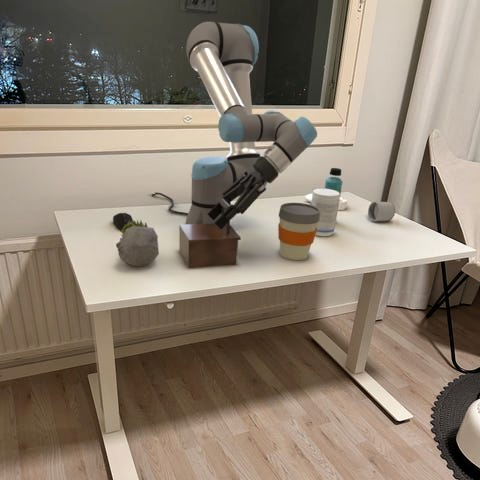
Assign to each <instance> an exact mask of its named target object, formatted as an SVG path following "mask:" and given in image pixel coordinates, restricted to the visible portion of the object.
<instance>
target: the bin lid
mask: <svg viewBox="0 0 480 480" xmlns="http://www.w3.org/2000/svg"><path fill="white" fill-rule="evenodd" d="M220 205H221V206H222V209H221V215H222V214H223V213H224V209H225V210H227V209H228V208H229V207H230V206H231V205H232V204H231V205H230V204H229V203H228V202H227V201H226V200H225V199H221V200H220ZM231 208H232V207H231ZM232 209H233V208H232ZM179 228H180V229H181V230H182V232H183V234H184V235H185V237H186V239H187V240H188V242H189V243H192V242H210V241H229V240H238V241H241V240H242V237H241V236H240V235H239V233H238V232H237V231H236V230H235V229H234V227H233V226H231V220H230V221H229V222H228V223H227V224H226V225H225V226H224V227H223V228H222V229H220V228H219V227H218V226H217V225H216V224H215V223H211V224H187V225H186V224H179Z"/></svg>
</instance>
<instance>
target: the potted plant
mask: <svg viewBox="0 0 480 480" xmlns="http://www.w3.org/2000/svg"><path fill="white" fill-rule="evenodd" d="M127 223H128V222H127ZM120 233H121V234H120V236H121V237H120V238H119V241H118V242H116V243H115V246H116V248H117V251H118V257H119V260H121V261H122V262H123V263H125V264H127V265H131V266H135V267H142V266H143V267H144V266H147V265H149V264H151V263H153V262H154V260H155V259H156V258H157V257H158V256H159V255H160V251H159V236H158V234H157V232H156V230H155V229H154V227H150V226H149V227H148V224H147V222H144V223H143V221H142V220H140V221H139V219H136V220H134V219H133V218H132V223H131V222H130V221H129V223H128V225H127V224H125V226H124V227H123V229H122V230H120Z"/></svg>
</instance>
